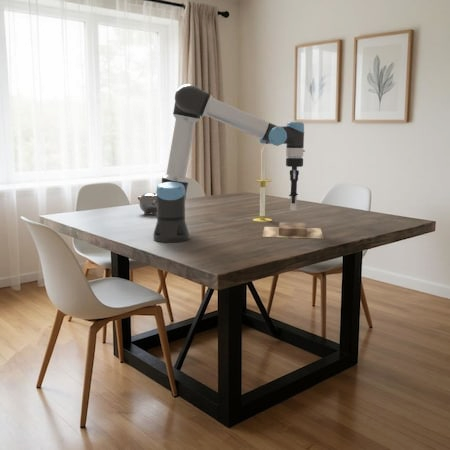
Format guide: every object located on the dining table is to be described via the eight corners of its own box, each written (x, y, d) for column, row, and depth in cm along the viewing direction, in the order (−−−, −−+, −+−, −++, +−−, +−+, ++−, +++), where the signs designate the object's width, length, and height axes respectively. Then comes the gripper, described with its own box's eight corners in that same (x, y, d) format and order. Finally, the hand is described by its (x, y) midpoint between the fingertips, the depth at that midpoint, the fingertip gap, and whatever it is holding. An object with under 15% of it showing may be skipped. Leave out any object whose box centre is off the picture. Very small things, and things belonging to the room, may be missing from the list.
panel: (279, 229, 249) (278, 235, 235) (279, 222, 248) (278, 228, 235) (305, 229, 248) (306, 236, 234) (305, 223, 247) (306, 229, 233)
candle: (261, 218, 279) (262, 144, 272) (276, 220, 272) (278, 145, 265) (248, 220, 272) (249, 145, 265) (263, 223, 265) (264, 145, 258)
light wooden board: (262, 237, 233) (262, 236, 233) (264, 227, 254) (264, 226, 254) (323, 239, 230) (323, 238, 230) (320, 229, 251) (320, 228, 251)
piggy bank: (163, 216, 281) (162, 194, 279) (135, 215, 283) (134, 194, 281) (168, 213, 292) (167, 192, 290) (141, 212, 294) (140, 191, 292)
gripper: (303, 158, 232) (301, 212, 236) (302, 156, 245) (301, 208, 249) (286, 158, 233) (284, 212, 237) (286, 156, 246) (284, 207, 250)
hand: (293, 210), depth 243 cm, fingers closed
